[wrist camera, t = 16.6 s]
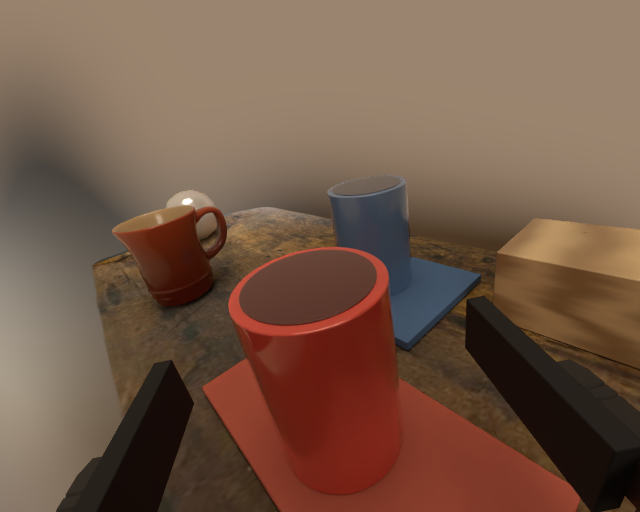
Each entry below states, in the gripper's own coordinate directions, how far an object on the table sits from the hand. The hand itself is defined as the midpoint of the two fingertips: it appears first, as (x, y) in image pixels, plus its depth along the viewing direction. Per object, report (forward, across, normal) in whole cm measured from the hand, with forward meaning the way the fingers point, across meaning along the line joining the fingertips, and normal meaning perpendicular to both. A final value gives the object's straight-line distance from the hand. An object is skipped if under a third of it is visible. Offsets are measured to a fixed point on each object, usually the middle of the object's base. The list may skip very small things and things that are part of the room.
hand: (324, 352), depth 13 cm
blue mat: (+16, +7, -8) cm, 19 cm away
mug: (+25, -16, -8) cm, 30 cm away
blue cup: (+17, +6, -7) cm, 19 cm away
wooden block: (+7, +20, -8) cm, 22 cm away
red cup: (+2, 0, -7) cm, 7 cm away
